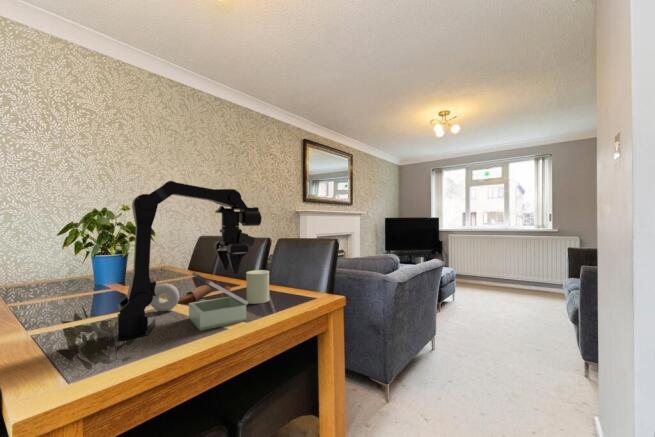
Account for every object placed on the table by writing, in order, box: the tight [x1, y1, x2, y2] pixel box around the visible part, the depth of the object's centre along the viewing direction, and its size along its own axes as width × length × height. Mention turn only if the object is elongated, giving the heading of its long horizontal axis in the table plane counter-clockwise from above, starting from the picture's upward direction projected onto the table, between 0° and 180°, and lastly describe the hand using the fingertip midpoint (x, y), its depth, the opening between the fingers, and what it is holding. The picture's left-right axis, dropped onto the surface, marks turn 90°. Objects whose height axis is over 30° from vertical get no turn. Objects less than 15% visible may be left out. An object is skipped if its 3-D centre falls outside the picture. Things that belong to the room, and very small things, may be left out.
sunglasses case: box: [177, 284, 212, 305], centre depth 122 cm, size 18×7×7 cm, turn 5°
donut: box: [149, 282, 181, 312], centre depth 103 cm, size 10×4×10 cm, turn 97°
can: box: [245, 269, 270, 305], centre depth 117 cm, size 9×9×12 cm
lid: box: [191, 271, 250, 306], centre depth 95 cm, size 17×14×2 cm
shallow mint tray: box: [188, 296, 247, 332], centre depth 94 cm, size 14×14×5 cm
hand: (230, 271), depth 99 cm, fingers open, 9 cm apart
